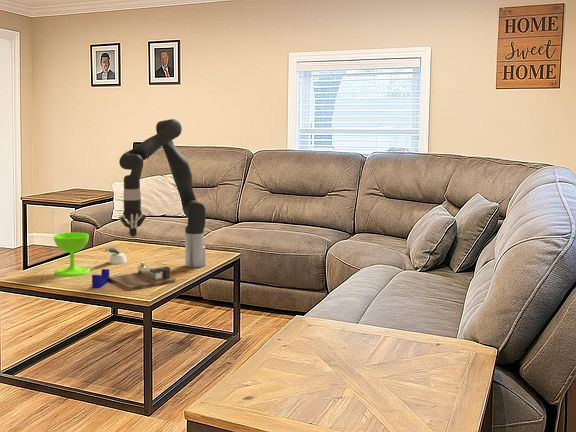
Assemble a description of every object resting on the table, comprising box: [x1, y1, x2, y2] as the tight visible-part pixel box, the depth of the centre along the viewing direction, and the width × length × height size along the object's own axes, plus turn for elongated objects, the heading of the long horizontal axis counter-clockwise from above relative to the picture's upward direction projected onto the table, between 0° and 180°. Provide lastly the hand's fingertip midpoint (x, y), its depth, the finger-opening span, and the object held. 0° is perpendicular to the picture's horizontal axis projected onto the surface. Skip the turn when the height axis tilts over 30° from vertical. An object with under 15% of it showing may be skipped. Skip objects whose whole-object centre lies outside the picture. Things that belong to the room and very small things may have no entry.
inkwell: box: [104, 245, 128, 265], centre depth 318 cm, size 9×18×10 cm, turn 172°
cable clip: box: [91, 268, 110, 290], centre depth 279 cm, size 12×4×6 cm, turn 174°
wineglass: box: [53, 232, 91, 278], centre depth 299 cm, size 16×16×18 cm
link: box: [137, 261, 163, 280], centre depth 290 cm, size 18×4×5 cm, turn 40°
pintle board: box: [109, 266, 176, 291], centre depth 286 cm, size 23×21×6 cm
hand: (132, 236), depth 284 cm, fingers closed
